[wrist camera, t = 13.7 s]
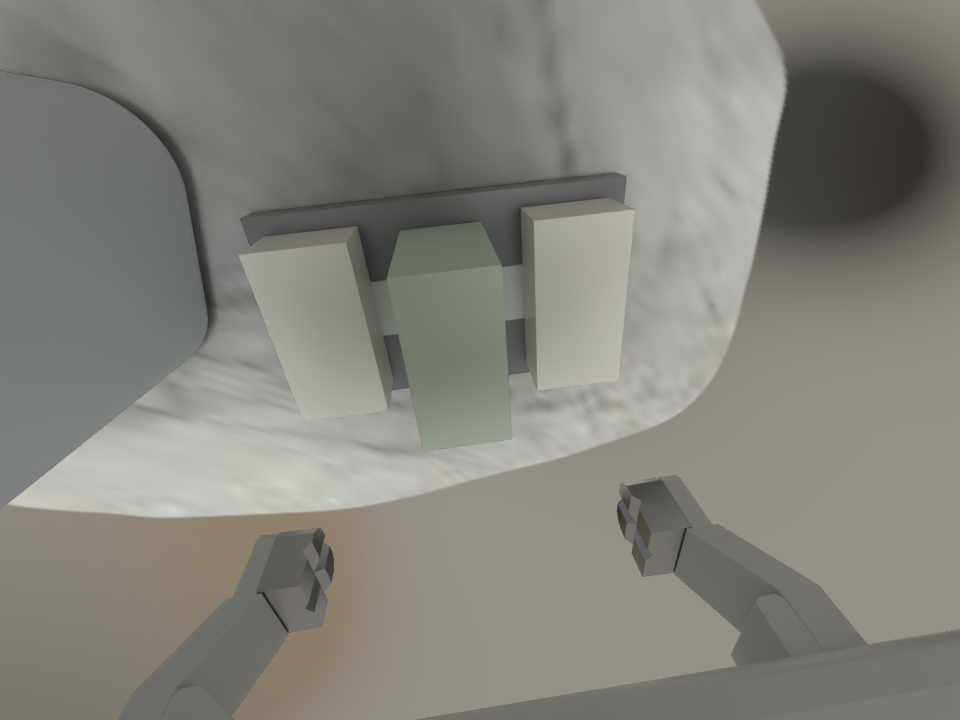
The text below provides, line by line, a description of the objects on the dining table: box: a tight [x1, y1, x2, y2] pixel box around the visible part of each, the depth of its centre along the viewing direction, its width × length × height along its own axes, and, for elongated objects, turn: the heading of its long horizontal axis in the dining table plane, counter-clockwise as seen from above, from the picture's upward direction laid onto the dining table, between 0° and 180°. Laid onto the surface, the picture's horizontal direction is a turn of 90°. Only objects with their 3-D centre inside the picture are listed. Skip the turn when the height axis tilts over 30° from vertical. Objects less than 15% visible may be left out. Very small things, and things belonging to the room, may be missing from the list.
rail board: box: [239, 173, 635, 422], centre depth 24 cm, size 12×21×5 cm, turn 95°
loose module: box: [387, 221, 512, 451], centre depth 22 cm, size 9×4×8 cm, turn 5°
